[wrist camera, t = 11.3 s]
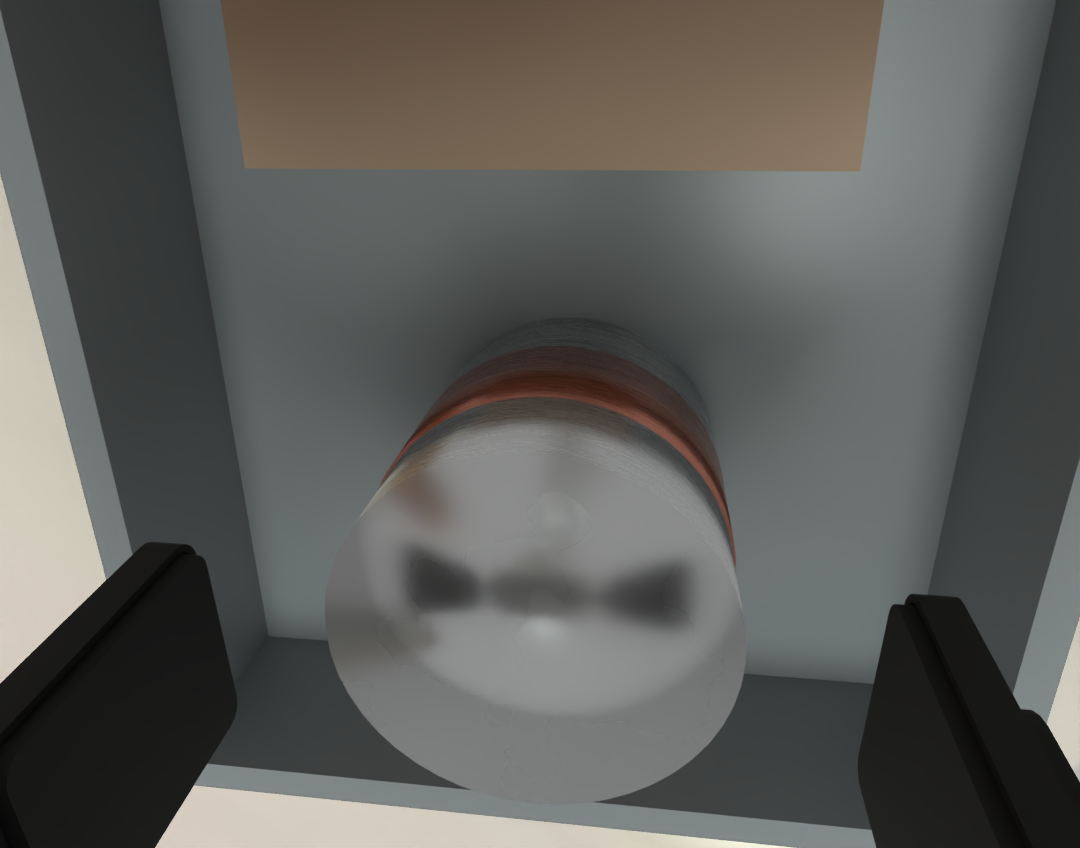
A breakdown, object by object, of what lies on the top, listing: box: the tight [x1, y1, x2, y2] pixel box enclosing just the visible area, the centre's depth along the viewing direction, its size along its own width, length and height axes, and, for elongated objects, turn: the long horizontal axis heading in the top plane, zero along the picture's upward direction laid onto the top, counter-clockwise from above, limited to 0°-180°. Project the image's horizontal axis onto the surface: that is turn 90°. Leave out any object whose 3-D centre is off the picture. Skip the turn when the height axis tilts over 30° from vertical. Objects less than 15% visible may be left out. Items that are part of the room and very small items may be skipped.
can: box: [325, 318, 747, 805], centre depth 15 cm, size 6×6×7 cm
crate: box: [0, 0, 1080, 848], centre depth 15 cm, size 22×18×5 cm
